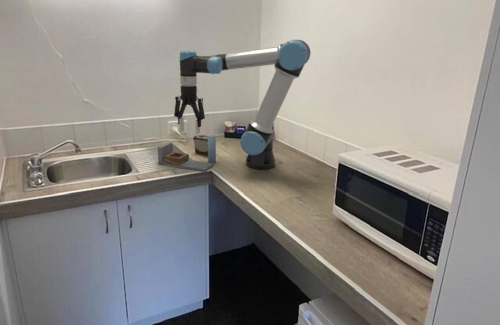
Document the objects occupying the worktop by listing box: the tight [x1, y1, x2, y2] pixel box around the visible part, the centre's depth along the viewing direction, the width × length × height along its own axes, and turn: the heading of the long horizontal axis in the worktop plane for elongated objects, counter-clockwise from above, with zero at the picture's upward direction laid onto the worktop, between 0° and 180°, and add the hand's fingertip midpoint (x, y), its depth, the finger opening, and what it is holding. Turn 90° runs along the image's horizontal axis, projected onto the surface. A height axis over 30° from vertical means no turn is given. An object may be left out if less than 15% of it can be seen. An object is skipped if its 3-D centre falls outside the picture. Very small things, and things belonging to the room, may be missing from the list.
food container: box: [192, 134, 209, 158], centre depth 206 cm, size 12×6×10 cm, turn 58°
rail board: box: [157, 141, 215, 173], centre depth 189 cm, size 10×26×9 cm, turn 70°
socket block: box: [164, 151, 190, 165], centre depth 191 cm, size 9×9×3 cm
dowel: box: [207, 134, 217, 164], centre depth 193 cm, size 4×4×14 cm
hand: (189, 132), depth 184 cm, fingers open, 8 cm apart
